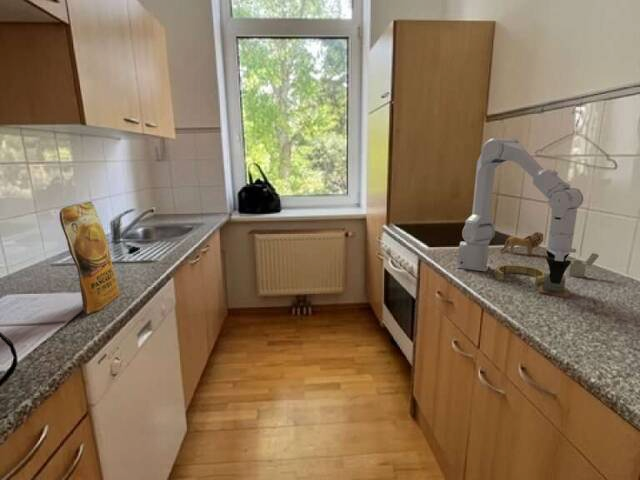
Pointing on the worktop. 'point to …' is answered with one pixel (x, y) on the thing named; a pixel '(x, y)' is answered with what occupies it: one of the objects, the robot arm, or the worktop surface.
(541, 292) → the coaster
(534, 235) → the lion figurine
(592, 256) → the lighter
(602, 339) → the worktop surface
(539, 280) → the c ring
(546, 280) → the c link
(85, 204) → the pancake mix bag
